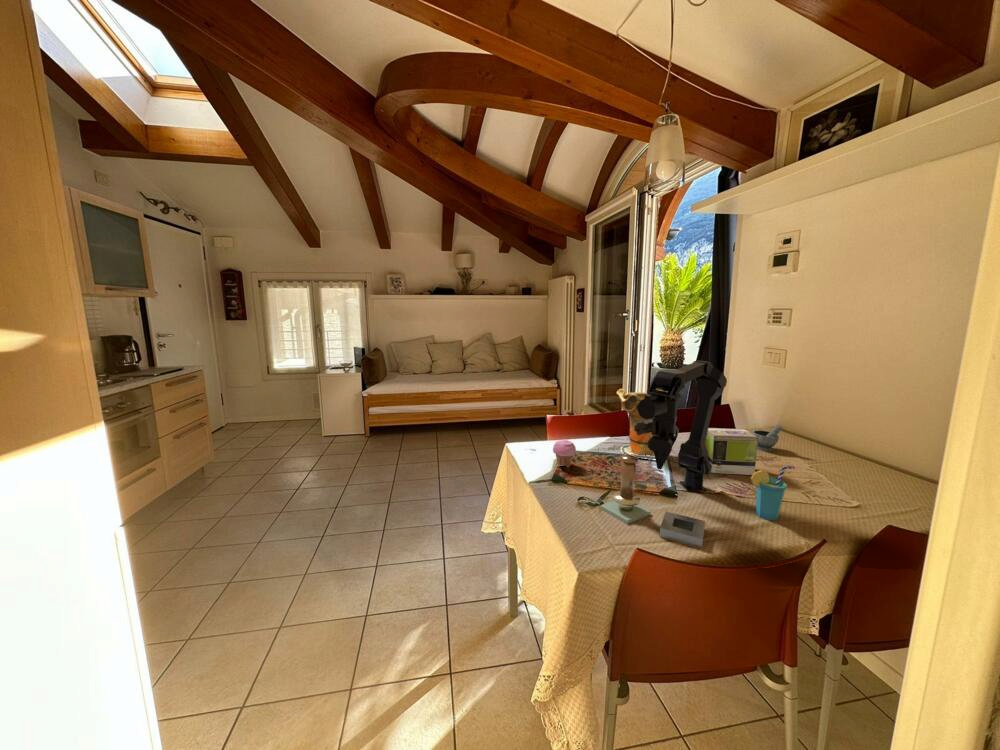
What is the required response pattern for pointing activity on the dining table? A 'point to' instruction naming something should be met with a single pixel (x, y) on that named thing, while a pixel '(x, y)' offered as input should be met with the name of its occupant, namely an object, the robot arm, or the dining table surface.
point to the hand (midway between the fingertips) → (661, 463)
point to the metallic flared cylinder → (627, 484)
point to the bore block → (682, 529)
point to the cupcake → (564, 452)
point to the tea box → (731, 451)
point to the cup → (769, 493)
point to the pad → (625, 512)
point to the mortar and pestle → (767, 438)
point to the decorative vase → (636, 441)
